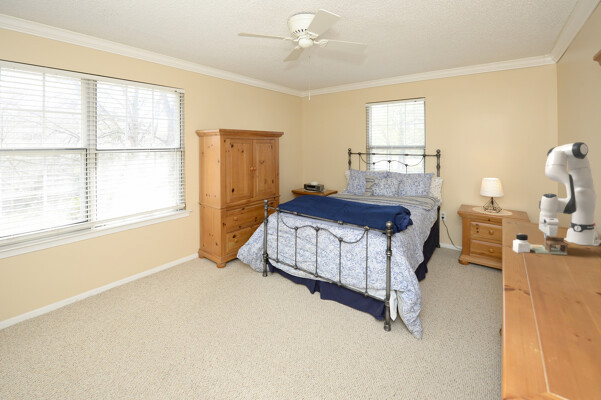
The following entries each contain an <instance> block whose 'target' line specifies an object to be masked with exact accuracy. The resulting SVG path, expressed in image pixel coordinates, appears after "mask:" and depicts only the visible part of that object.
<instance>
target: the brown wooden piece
mask: <svg viewBox="0 0 601 400" xmlns="http://www.w3.org/2000/svg"><path fill="white" fill-rule="evenodd" d="M564 238H565V237H557V236H556V237H551V236H550V237H546V239H544V245H545V249H546V250H547V251H548V252H551V245H556V246H559V247H560V250H562V251H563V252H564V253H567V254H568V246H569V245H568V243H567V242H565V240H564Z"/></svg>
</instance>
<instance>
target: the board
mask: <svg viewBox="0 0 601 400" xmlns="http://www.w3.org/2000/svg"><path fill="white" fill-rule="evenodd" d="M530 250H532V251H533V252H534V253H535V254H545V255H562V256H563V255H564V256H566V255H568V252H567V253H564V252H563V251H562V250H560V246H559V245H556V249H553V248H551V252H548V251H547V250H546V249H545V244H531V243H530Z"/></svg>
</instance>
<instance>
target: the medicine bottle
mask: <svg viewBox="0 0 601 400" xmlns="http://www.w3.org/2000/svg"><path fill="white" fill-rule="evenodd" d="M528 237H529V236H528V235H527V234H525V233H517V234H516V238H515V240H514V239H513V240H512V251H513V252H515V253H517V254H521V253H530V252H531V248H530V244H531V243H530V241H528Z"/></svg>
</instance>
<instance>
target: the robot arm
mask: <svg viewBox="0 0 601 400" xmlns="http://www.w3.org/2000/svg"><path fill="white" fill-rule="evenodd" d="M588 152H589V147H588V145H587V144H586V143H585V142H580V141H579V142H572V143H565V144H562V145H559V146H554V147H551V148H550V149H549V150H548V151H547V154H546V155H547V159H546V162H545V165H544V166H545V167H544V174H545V175H544V176H546V177H547V178H548V179H549V180H551V181H554V182H557V183H561V184H562V185H564V186H565V191H566V197H565V198H561V197H558V195H557V194H554V193H545V194H543V195H542V196H541V200H539V204H538V205H539V206H538V208H539V210H540V212H539V222H538V230H539V231H541V232H542V233H543V239H544V240H545V239H546V237H557V235H558V231H559V225H560V221H559V217H558V214H565V215H571V222H570V225H569V228H567V232H566V237H563V238H564V241H566V243H567V242H568V243H574V244H576V245H580V246H595V247H596V246H598V247H599V245H601V239H600V238H598V237H599V232H598V231H596V230H595V227H596V223H595V222H594V219H595V218H594V217H595V210H596V203H597V194H596V192H595V187H594V186H595V185H594V180H593V174H592V170H591V164H590V161H589V159H588V156H587V155H588ZM567 170H568V171H567Z"/></svg>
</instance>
